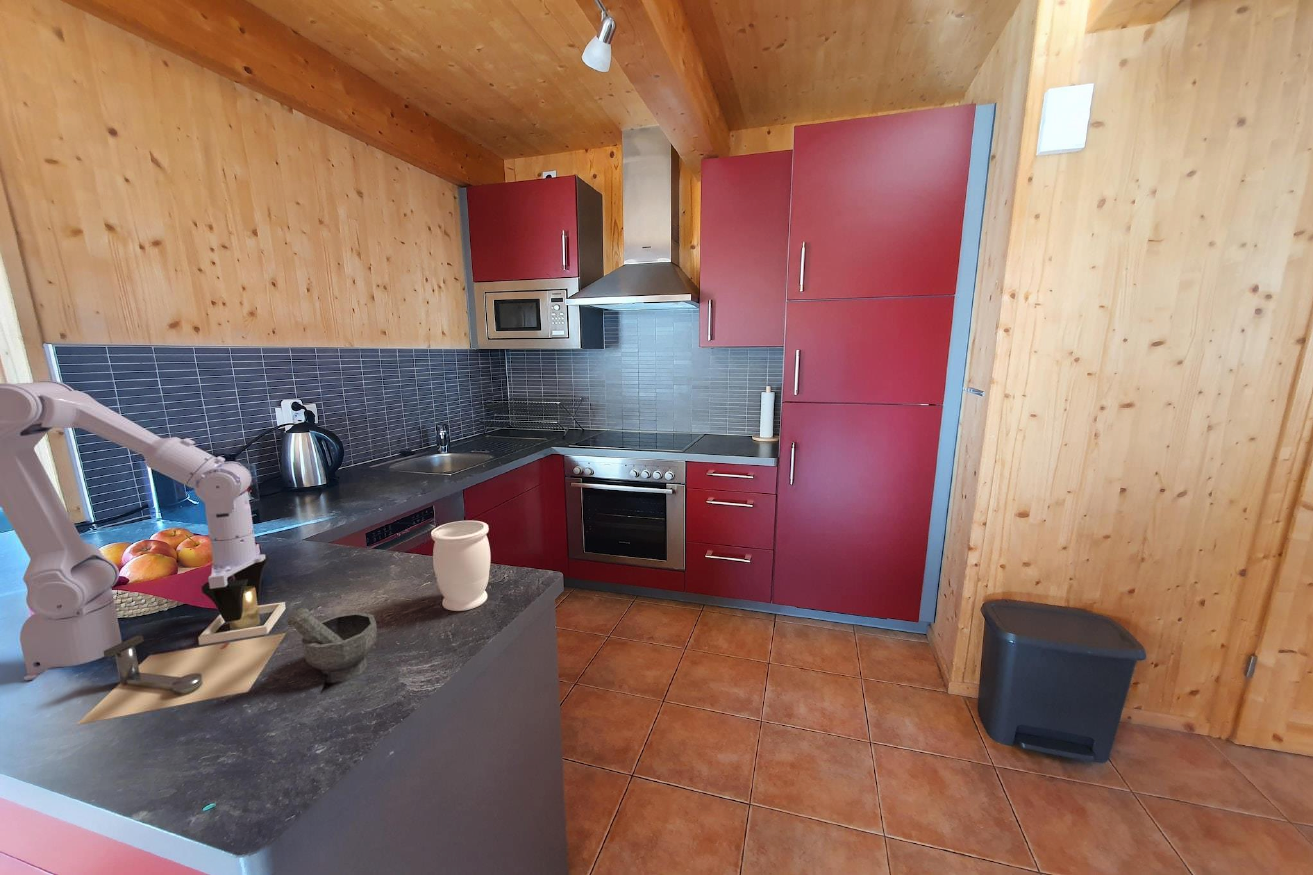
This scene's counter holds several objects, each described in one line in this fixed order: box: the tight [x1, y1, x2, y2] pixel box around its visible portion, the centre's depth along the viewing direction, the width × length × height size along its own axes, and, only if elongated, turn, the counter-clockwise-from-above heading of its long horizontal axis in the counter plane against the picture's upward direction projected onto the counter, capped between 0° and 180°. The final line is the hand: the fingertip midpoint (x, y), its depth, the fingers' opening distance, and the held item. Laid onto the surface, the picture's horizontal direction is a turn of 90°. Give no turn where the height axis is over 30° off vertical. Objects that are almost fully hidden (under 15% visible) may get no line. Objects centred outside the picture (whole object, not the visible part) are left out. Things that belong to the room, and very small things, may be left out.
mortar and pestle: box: [286, 607, 378, 684], centre depth 75 cm, size 11×9×12 cm
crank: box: [103, 635, 203, 695], centre depth 70 cm, size 12×4×6 cm, turn 81°
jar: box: [430, 520, 491, 612], centre depth 97 cm, size 11×10×15 cm
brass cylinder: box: [229, 586, 261, 631], centre depth 87 cm, size 4×4×7 cm
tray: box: [197, 601, 286, 646], centre depth 87 cm, size 9×9×2 cm
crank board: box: [75, 632, 287, 726], centre depth 74 cm, size 18×16×1 cm
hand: (242, 609), depth 87 cm, fingers open, 7 cm apart
